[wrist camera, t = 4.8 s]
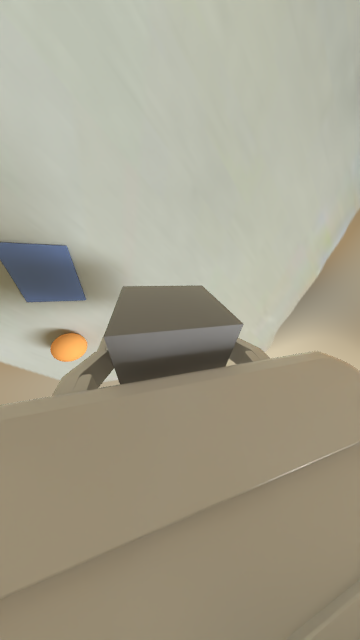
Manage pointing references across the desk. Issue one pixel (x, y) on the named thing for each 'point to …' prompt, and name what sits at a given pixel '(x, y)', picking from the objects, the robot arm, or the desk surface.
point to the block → (169, 332)
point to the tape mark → (42, 271)
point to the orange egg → (68, 347)
